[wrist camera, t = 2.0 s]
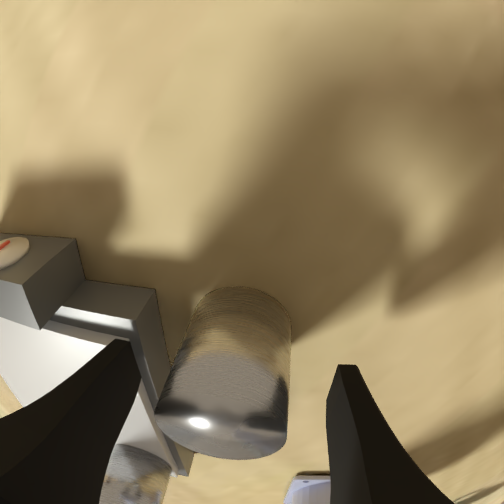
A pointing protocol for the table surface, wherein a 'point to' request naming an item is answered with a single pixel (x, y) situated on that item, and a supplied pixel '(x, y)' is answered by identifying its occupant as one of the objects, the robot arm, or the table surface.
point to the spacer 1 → (135, 477)
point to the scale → (79, 333)
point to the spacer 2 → (230, 377)
